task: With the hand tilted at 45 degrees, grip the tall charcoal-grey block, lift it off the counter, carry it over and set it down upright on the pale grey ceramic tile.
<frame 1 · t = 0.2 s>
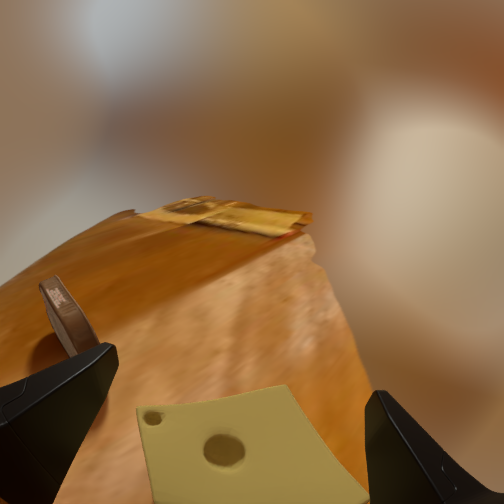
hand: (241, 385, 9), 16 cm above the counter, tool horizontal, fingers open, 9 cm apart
tin: (76, 354, 28), on the counter
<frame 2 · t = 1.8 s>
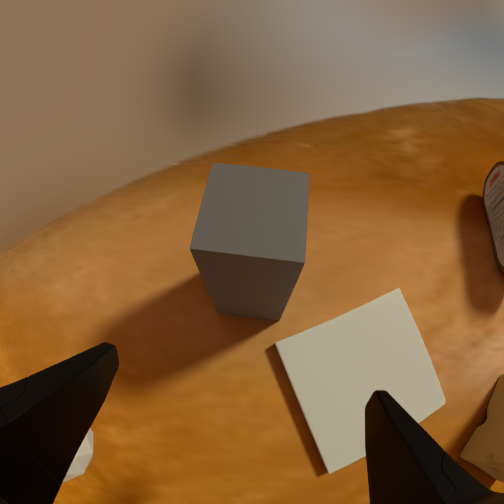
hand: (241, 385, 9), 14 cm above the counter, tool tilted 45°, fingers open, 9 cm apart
ball: (74, 432, 18), on the counter
cheese: (500, 429, 17), on the counter
tile: (367, 379, 21), on the counter
tin: (492, 233, 27), on the counter
block: (252, 288, 24), on the counter
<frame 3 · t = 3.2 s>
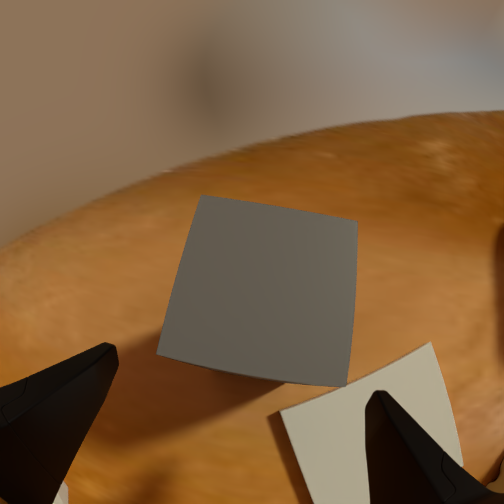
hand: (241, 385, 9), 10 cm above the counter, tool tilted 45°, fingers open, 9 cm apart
ball: (49, 478, 13), on the counter
tile: (384, 448, 15), on the counter
block: (255, 340, 19), on the counter
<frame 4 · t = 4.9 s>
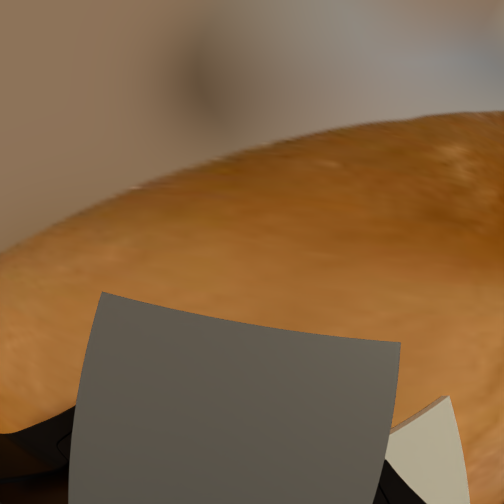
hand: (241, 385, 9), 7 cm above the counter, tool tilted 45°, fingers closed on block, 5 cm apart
block: (239, 405, 14), on the counter, touching gripper
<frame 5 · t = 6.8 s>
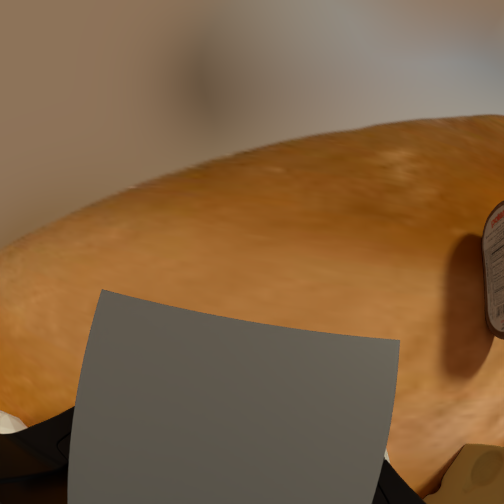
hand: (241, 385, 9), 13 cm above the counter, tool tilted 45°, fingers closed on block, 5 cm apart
ball: (30, 446, 17), on the counter
cheese: (456, 495, 15), on the counter
tin: (487, 281, 24), on the counter
block: (239, 405, 14), point 7 cm above the counter, touching gripper
when the fingers open (9 cm above the counter, at t = 8.8 s): block drops 2 cm, resting on tile.
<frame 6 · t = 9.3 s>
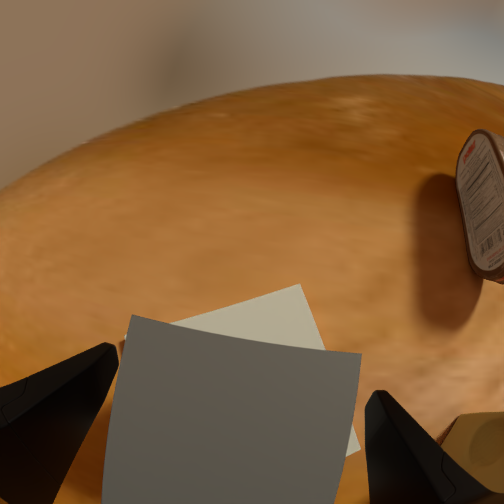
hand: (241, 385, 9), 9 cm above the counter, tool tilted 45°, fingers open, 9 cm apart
cheese: (453, 483, 13), on the counter
tile: (240, 401, 16), on the counter
tin: (467, 223, 23), on the counter
block: (239, 403, 16), point 1 cm above the counter, touching tile
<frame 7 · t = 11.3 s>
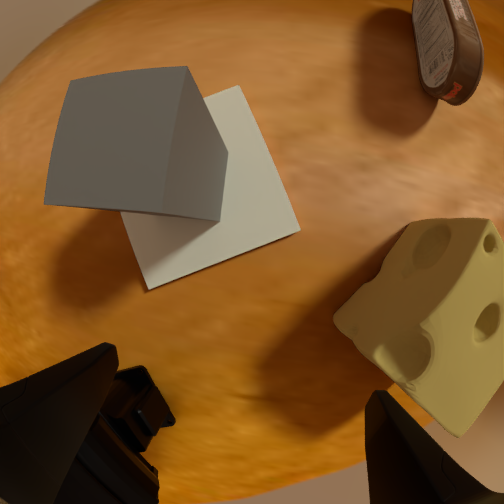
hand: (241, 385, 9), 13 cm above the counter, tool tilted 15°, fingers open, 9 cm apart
cheese: (411, 302, 21), on the counter
tile: (193, 184, 21), on the counter
tin: (422, 51, 19), on the counter
block: (189, 183, 20), point 1 cm above the counter, touching tile
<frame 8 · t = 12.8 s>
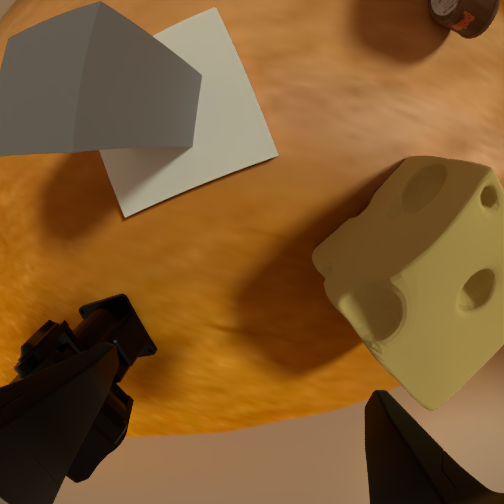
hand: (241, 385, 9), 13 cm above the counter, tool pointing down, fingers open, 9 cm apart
cheese: (403, 245, 20), on the counter
tile: (167, 109, 18), on the counter
block: (162, 109, 17), point 1 cm above the counter, touching tile
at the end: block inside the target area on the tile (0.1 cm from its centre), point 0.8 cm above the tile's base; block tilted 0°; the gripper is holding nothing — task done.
